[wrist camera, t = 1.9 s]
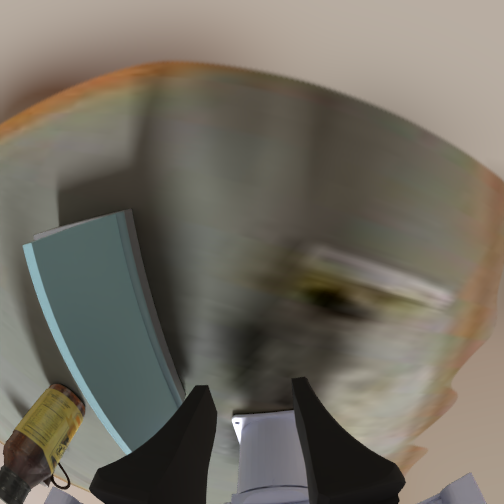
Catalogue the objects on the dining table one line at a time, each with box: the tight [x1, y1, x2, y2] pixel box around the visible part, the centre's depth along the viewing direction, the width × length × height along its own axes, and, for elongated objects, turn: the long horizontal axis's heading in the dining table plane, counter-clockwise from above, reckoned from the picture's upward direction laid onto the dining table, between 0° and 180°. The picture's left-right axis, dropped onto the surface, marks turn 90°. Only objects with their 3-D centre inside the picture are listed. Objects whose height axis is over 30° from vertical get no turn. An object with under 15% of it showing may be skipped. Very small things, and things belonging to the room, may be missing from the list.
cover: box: [23, 211, 183, 455], centre depth 14 cm, size 18×9×1 cm
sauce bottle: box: [0, 384, 85, 504], centre depth 16 cm, size 6×6×20 cm
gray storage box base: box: [33, 208, 186, 402], centre depth 20 cm, size 18×8×4 cm, turn 8°
